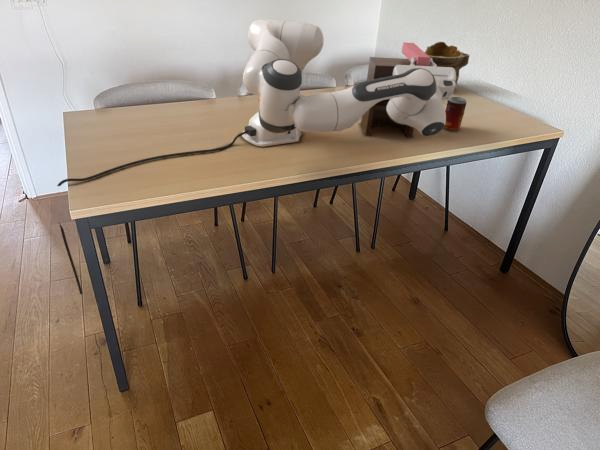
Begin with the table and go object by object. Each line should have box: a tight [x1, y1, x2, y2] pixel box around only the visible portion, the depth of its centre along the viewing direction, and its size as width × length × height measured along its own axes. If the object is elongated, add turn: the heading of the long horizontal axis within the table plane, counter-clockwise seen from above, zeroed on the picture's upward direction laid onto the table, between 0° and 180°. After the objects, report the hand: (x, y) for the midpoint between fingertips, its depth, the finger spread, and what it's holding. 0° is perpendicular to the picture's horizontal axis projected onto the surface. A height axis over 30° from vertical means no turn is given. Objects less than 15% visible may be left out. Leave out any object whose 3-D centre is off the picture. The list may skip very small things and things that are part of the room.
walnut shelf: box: [360, 56, 415, 138], centre depth 168 cm, size 12×18×26 cm, turn 92°
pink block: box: [401, 41, 430, 66], centre depth 157 cm, size 22×4×4 cm, turn 2°
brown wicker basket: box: [424, 41, 470, 85], centre depth 220 cm, size 23×24×25 cm
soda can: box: [443, 96, 468, 132], centre depth 177 cm, size 7×7×12 cm
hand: (421, 59), depth 150 cm, fingers closed on pink block, 4 cm apart
